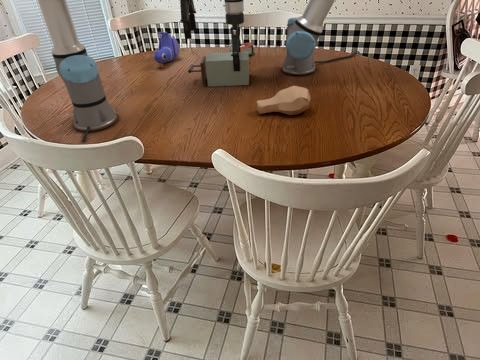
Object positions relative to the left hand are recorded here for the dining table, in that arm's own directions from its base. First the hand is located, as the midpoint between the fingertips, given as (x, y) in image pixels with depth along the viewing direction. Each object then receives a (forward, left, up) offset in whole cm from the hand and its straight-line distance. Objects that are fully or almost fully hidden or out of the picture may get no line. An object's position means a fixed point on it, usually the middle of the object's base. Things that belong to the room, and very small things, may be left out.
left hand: (190, 34), depth 149 cm
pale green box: (-1, -15, -21) cm, 25 cm away
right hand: (-1, -19, -14) cm, 24 cm away
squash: (-35, -36, -21) cm, 54 cm away
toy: (+29, +19, -21) cm, 41 cm away
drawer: (0, -9, -20) cm, 22 cm away
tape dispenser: (+32, -20, -21) cm, 43 cm away
